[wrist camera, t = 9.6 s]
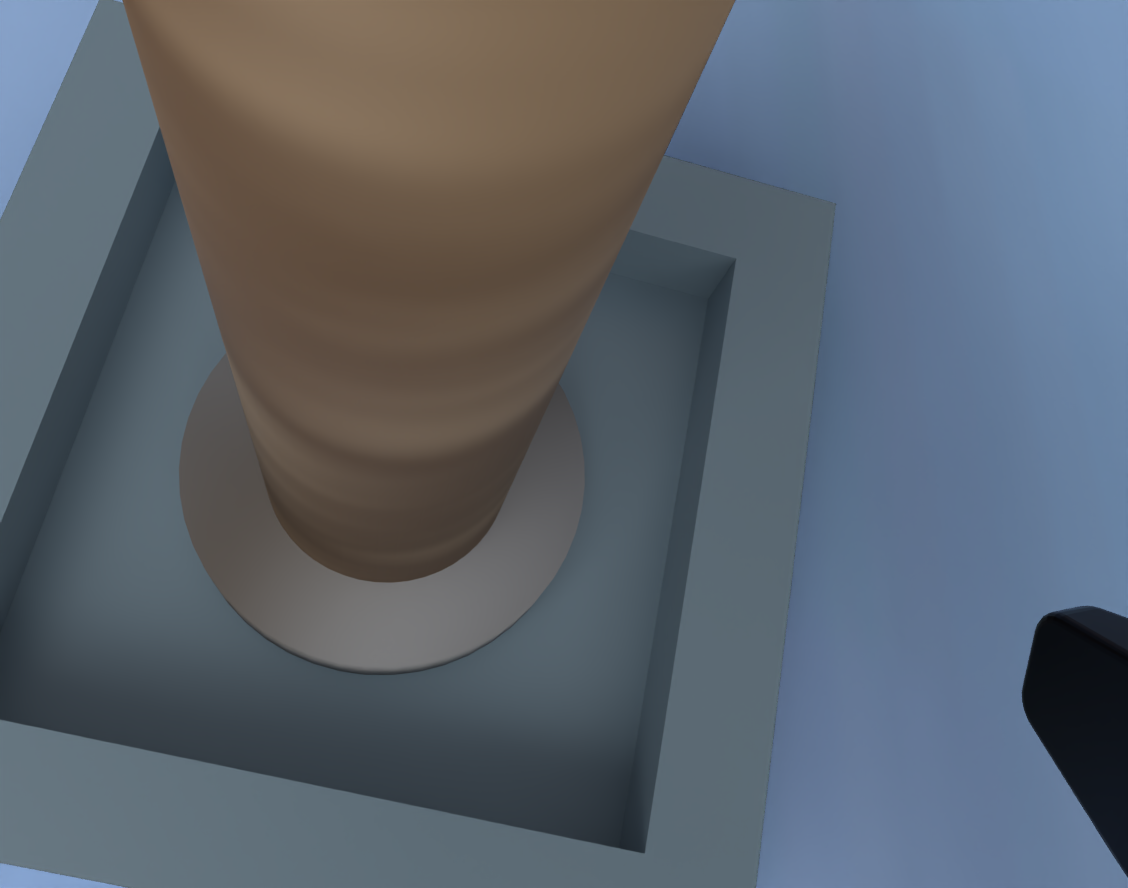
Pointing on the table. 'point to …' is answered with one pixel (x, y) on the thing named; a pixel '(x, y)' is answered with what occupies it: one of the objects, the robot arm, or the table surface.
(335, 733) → the tray
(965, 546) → the table surface
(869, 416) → the table surface
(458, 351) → the wooden post on disc
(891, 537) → the table surface
